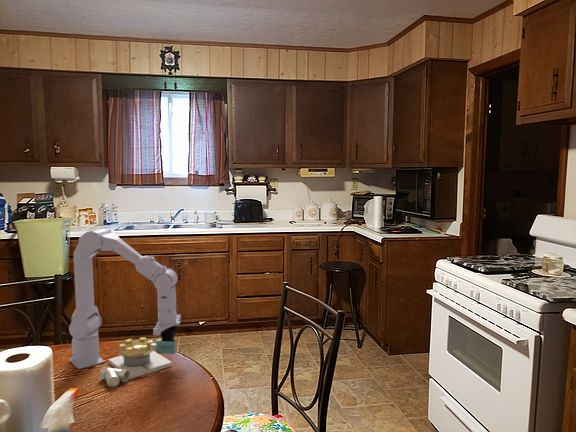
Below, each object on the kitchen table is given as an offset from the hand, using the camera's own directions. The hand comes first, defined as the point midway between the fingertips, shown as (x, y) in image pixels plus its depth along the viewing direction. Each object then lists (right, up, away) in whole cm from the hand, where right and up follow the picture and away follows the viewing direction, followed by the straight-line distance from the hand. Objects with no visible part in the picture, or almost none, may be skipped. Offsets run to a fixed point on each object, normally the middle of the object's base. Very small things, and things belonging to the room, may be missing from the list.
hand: (168, 349), depth 145 cm
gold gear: (-6, -1, -1) cm, 6 cm away
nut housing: (-10, -5, 0) cm, 11 cm away
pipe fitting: (-14, -7, -12) cm, 19 cm away
